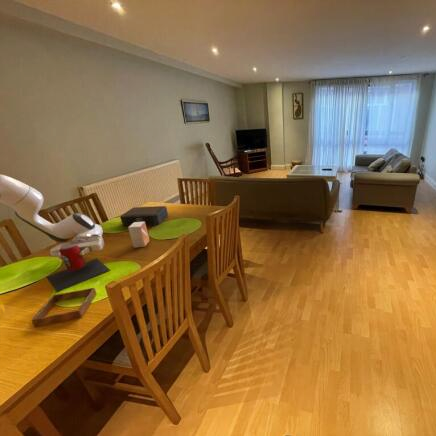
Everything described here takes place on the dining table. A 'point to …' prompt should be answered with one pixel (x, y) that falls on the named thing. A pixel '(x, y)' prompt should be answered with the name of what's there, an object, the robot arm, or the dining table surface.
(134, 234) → the small box
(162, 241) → the dining table surface
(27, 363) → the dining table surface
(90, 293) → the brown wooden frame
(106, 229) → the dining table surface
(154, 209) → the cash box
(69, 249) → the beverage can
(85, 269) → the rubber mat
